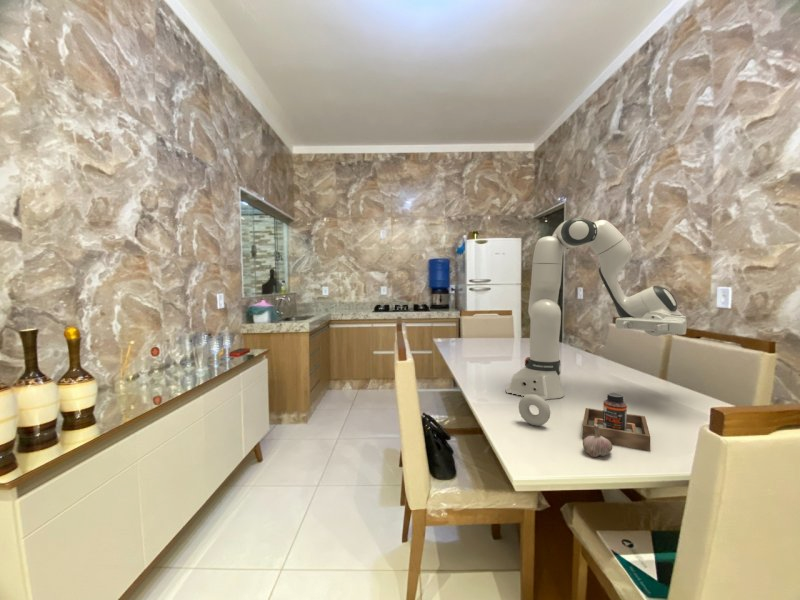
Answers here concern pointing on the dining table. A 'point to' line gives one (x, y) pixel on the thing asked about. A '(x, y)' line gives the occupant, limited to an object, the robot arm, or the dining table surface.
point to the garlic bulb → (597, 444)
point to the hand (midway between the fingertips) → (640, 326)
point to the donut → (540, 404)
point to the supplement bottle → (615, 412)
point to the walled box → (632, 437)
